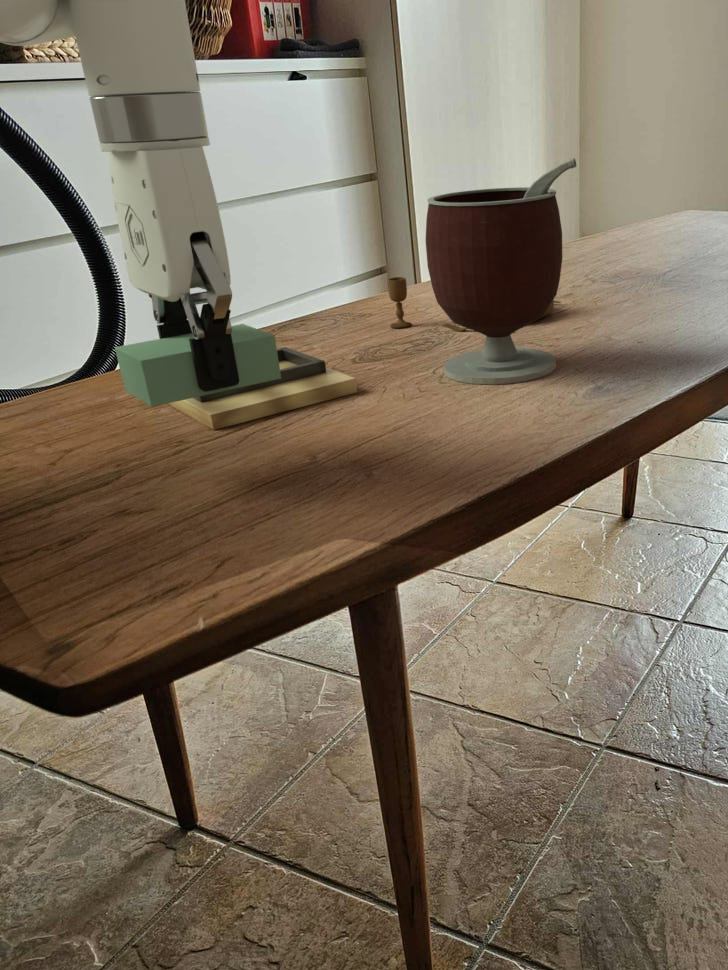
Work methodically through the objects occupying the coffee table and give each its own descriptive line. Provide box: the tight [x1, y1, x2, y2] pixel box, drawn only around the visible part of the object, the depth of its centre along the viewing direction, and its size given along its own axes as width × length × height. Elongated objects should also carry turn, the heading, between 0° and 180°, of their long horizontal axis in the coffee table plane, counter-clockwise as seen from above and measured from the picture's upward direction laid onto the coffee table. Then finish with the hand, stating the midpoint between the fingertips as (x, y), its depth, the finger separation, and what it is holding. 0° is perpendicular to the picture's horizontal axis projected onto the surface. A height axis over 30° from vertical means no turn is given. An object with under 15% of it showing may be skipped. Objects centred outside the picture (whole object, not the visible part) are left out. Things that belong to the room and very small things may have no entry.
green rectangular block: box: [114, 323, 281, 408], centre depth 73 cm, size 11×6×4 cm, turn 128°
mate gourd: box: [425, 158, 577, 385], centre depth 93 cm, size 16×14×20 cm
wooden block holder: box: [167, 346, 358, 431], centre depth 96 cm, size 16×22×3 cm
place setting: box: [386, 276, 562, 332], centre depth 119 cm, size 18×20×6 cm
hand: (202, 377), depth 73 cm, fingers closed on green rectangular block, 6 cm apart
